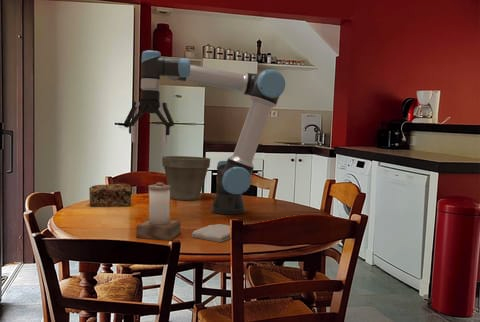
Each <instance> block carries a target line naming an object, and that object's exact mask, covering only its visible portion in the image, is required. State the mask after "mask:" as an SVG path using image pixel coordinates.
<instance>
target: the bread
mask: <svg viewBox="0 0 480 322" xmlns="http://www.w3.org/2000/svg"><path fill="white" fill-rule="evenodd" d="M88 190H89V206H90V207H91V208H107V207H108V208H110V207H111V208H113V207H117V208H119V207H130V206H131V203H132V202H131V201H132V186H131V184H128V183H111V184H97V185H96V184H95V185H92V186H90V187H89V188H88Z"/></svg>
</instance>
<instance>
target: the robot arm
mask: <svg viewBox="0 0 480 322" xmlns="http://www.w3.org/2000/svg"><path fill="white" fill-rule="evenodd" d="M161 53H162V52H160V51H158V50H143V51H142V52H141V60H140V61H141V64H140V65H141V66H140V70H141V71H140V79H141V80H140V89H141V90H140V101H132V106H131V108H130V110H129V112H128V114H127V117H126V118H125V120H124V124H125V125H127V126H128V133H129V134H130V143H135V142H136V126H135V124H136V123H137V122H138V120H139V119H140V118H141V117H142V116H143V115H144V114H155V115H156V116H157V117H158V118H159V120H160V121H161V122H162V123H163V125H164V126H165V127H164V126H163V140H162V141H163V144H168V136H170V133H171V130H170V129H171V127H173V126H175V122H174V120H173V118H172V115H171V112H170V110H169V108H168V102H161V101H160V94H161V92H160V90H161V89H160V88H161V76H162V77H168V78H169V79H170V81H179V82H181V81H182V82H186V83H187V82H188V83H192V84H198V85H204V86H210V87H215V88H220V89H226V90H230V91H231V90H232V91H237V92H240V93H241V94H242V95H246V96H249V97H250V100H251V104H250V107H249V110H248V112H247V115H246V118H245V121H244V123H243V126H242V129H241V131H240V135H239V137H238V141H237V142H236V146H235V148H234V151H233V154H232V155H231V156H229V157H227V160H220V161H218V162H217V164H216V169H217V170H216V194H215V198H214V199H213V203H212V206H211V212H213V213H214V214H218V215H230V216H231V215H241V214H242V215H243V214H245V213H246V205H245V201H244V198H243V194H244V193H246V192H247V190H249V188H250V187H251V183H252V173H253V171H254V169H255V167H254V164H253V160H254V157H255V154H256V152H257V150H258V147H259V143H260V140H261V138H262V136H263V135H262V134H263V132H264V130H265V126H266V124H267V121H268V118H269V115H270V112H271V110H272V109H273V108H275V107H276V106H277V104H278V101H279V98H280V96H281V95H282V94H283V93H284V91H285V88H286V80H285V77H284V76H283V75H282V73H281V72H279V70H276V69H265V70H263V71H261V72H259V73H251V72H246V73H237V72H232V71H227V70H221V69H216V68H209V67H207V66H206V67H205V66H199V65H194V64H191V60H190V59H189V58H185V57H184V58H183V57H168V56H167V57H165V56H164V57H163V56H162V54H161ZM139 107H140V109H139V110H138V112H137V113H136V111H137V109H138V108H139ZM160 107H161V109H162V110H163V112H164V114H165V115H163V114H162V112H161V110H160V109H159V108H160ZM135 113H136V114H135ZM134 115H135V116H134ZM164 116H165V117H166V118H165V117H164Z"/></svg>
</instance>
